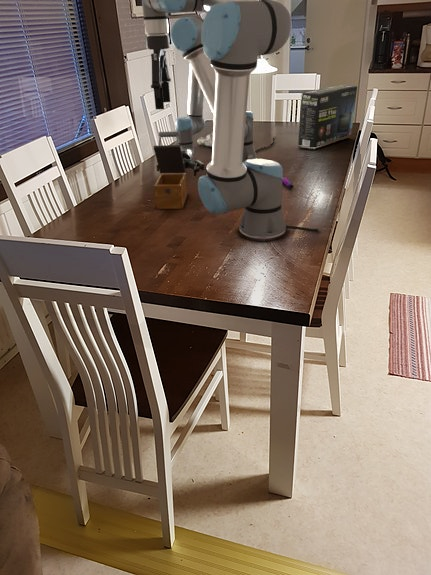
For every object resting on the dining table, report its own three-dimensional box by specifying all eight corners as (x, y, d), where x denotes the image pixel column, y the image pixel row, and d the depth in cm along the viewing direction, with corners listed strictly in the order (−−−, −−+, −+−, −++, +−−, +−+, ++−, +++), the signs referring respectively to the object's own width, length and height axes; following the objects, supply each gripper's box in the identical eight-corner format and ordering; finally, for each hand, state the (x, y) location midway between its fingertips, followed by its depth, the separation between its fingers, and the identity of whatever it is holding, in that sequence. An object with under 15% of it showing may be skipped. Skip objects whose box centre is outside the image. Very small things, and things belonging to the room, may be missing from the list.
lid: (179, 147, 164) (181, 127, 167) (153, 147, 164) (155, 128, 168) (185, 172, 177) (186, 154, 181) (160, 173, 178) (162, 154, 181)
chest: (182, 208, 170) (180, 185, 166) (156, 208, 171) (154, 185, 166) (186, 195, 182) (185, 173, 177) (163, 195, 183) (160, 173, 178)
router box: (314, 151, 231) (318, 94, 217) (296, 148, 237) (299, 92, 224) (352, 138, 251) (358, 85, 238) (335, 135, 258) (340, 83, 245)
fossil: (220, 142, 238) (201, 123, 241) (210, 159, 244) (191, 141, 248) (238, 140, 252) (219, 123, 255) (227, 157, 258) (210, 139, 261)
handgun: (261, 176, 200) (261, 171, 199) (278, 174, 201) (278, 169, 200) (275, 191, 183) (275, 186, 182) (294, 188, 184) (294, 184, 183)
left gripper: (211, 166, 207) (209, 181, 189) (156, 167, 209) (149, 182, 190) (210, 149, 203) (208, 163, 185) (155, 151, 205) (147, 164, 187)
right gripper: (152, 33, 157) (158, 99, 168) (137, 37, 136) (145, 112, 147) (174, 32, 157) (178, 99, 168) (162, 36, 136) (168, 112, 147)
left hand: (178, 173), depth 188 cm, fingers open, 13 cm apart
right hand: (163, 105), depth 157 cm, fingers open, 13 cm apart
